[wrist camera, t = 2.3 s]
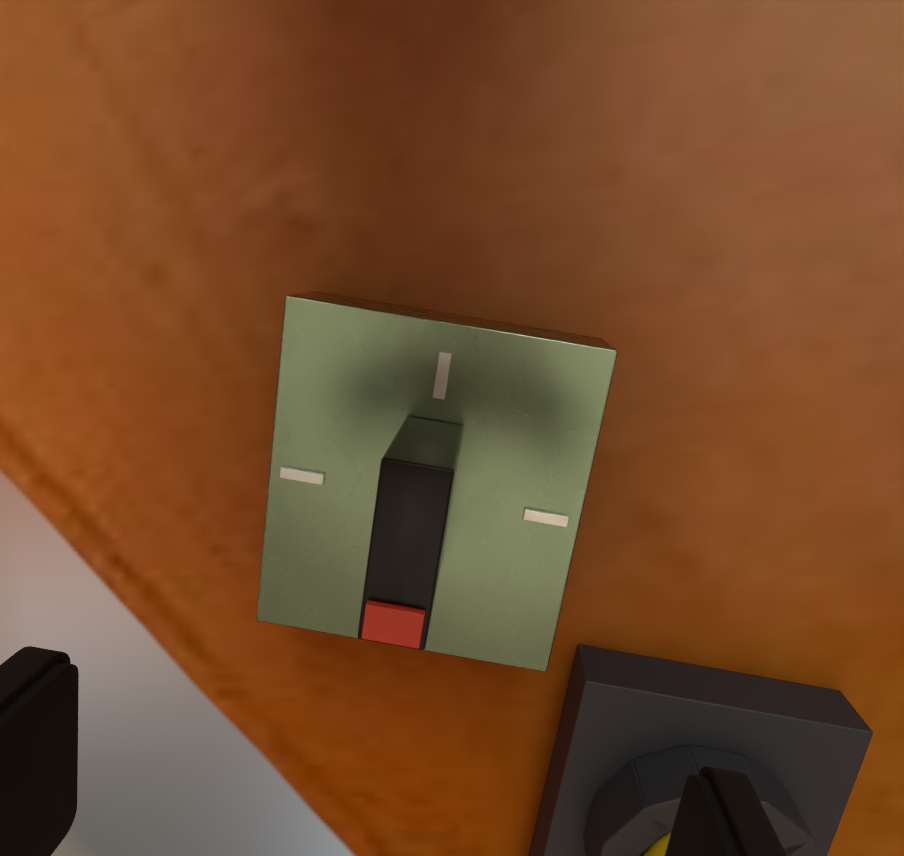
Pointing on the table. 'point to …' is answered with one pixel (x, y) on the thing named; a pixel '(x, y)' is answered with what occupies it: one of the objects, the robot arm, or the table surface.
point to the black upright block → (409, 532)
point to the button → (659, 846)
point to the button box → (691, 753)
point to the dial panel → (477, 478)
